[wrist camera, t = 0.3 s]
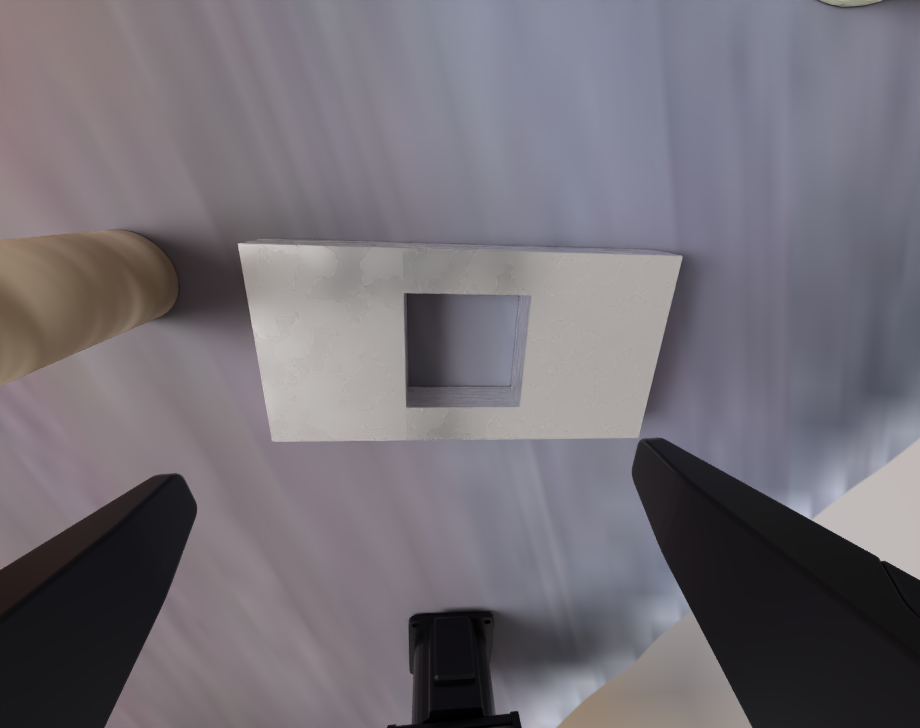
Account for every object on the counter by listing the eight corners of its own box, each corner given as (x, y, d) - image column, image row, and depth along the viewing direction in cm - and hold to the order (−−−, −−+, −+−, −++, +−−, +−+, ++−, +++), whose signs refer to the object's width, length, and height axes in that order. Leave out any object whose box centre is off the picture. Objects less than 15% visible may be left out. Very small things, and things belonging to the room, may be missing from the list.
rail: (618, 415, 25) (638, 437, 22) (288, 417, 23) (272, 441, 21) (654, 249, 21) (682, 256, 18) (260, 238, 19) (237, 243, 17)
